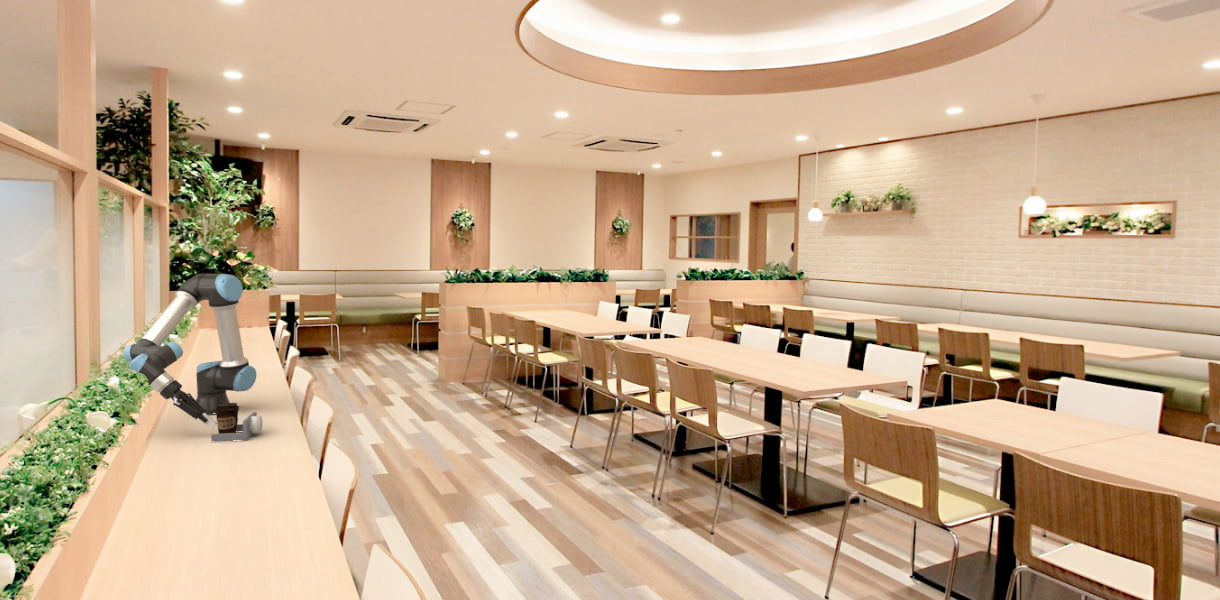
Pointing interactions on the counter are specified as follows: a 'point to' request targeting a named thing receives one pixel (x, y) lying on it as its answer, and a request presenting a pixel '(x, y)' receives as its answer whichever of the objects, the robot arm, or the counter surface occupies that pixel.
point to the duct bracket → (242, 429)
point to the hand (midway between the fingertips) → (214, 426)
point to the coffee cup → (227, 417)
